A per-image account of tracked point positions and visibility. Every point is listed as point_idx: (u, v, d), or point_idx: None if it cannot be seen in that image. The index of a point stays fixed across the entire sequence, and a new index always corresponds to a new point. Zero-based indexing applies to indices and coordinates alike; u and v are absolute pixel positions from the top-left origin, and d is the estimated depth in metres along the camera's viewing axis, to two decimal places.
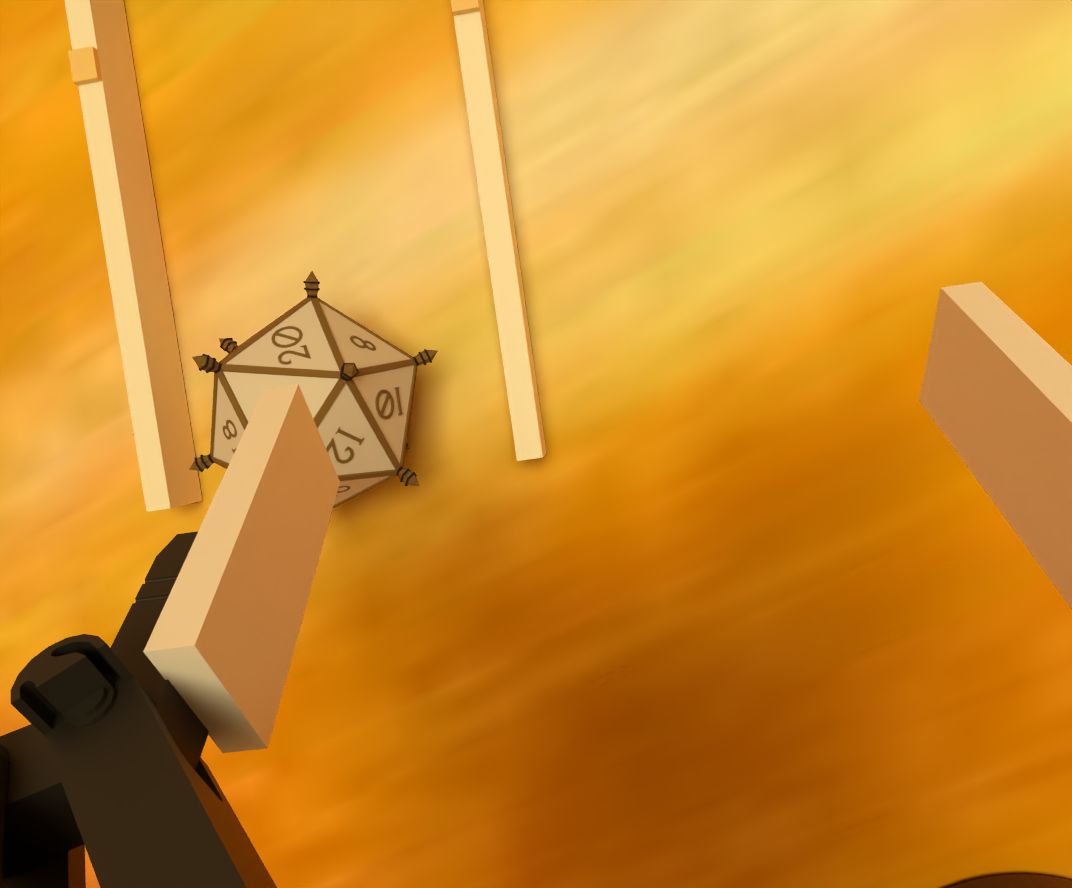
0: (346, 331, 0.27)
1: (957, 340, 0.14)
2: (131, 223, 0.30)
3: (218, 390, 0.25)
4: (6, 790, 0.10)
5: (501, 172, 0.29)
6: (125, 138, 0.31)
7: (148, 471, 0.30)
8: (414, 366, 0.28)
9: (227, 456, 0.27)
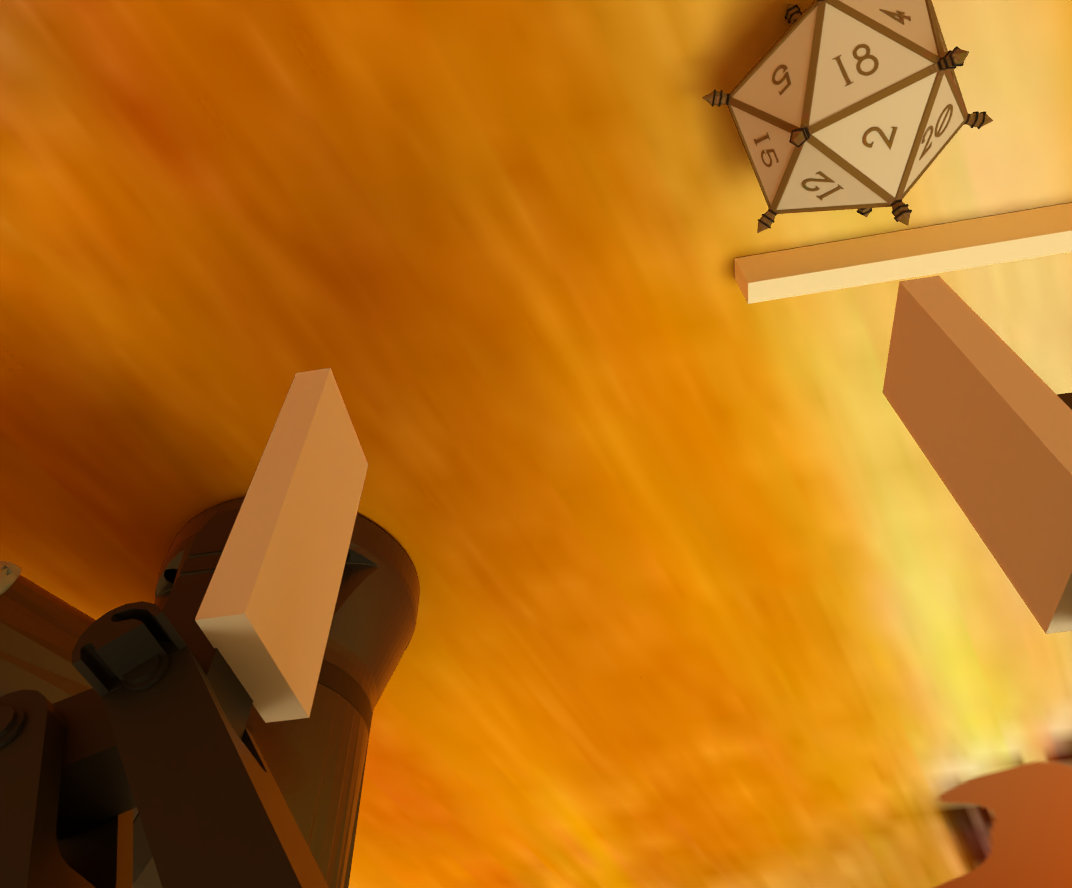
0: None
1: (914, 332, 0.15)
2: None
3: (914, 55, 0.23)
4: (62, 756, 0.10)
5: (1005, 261, 0.32)
6: None
7: None
8: None
9: (829, 38, 0.24)
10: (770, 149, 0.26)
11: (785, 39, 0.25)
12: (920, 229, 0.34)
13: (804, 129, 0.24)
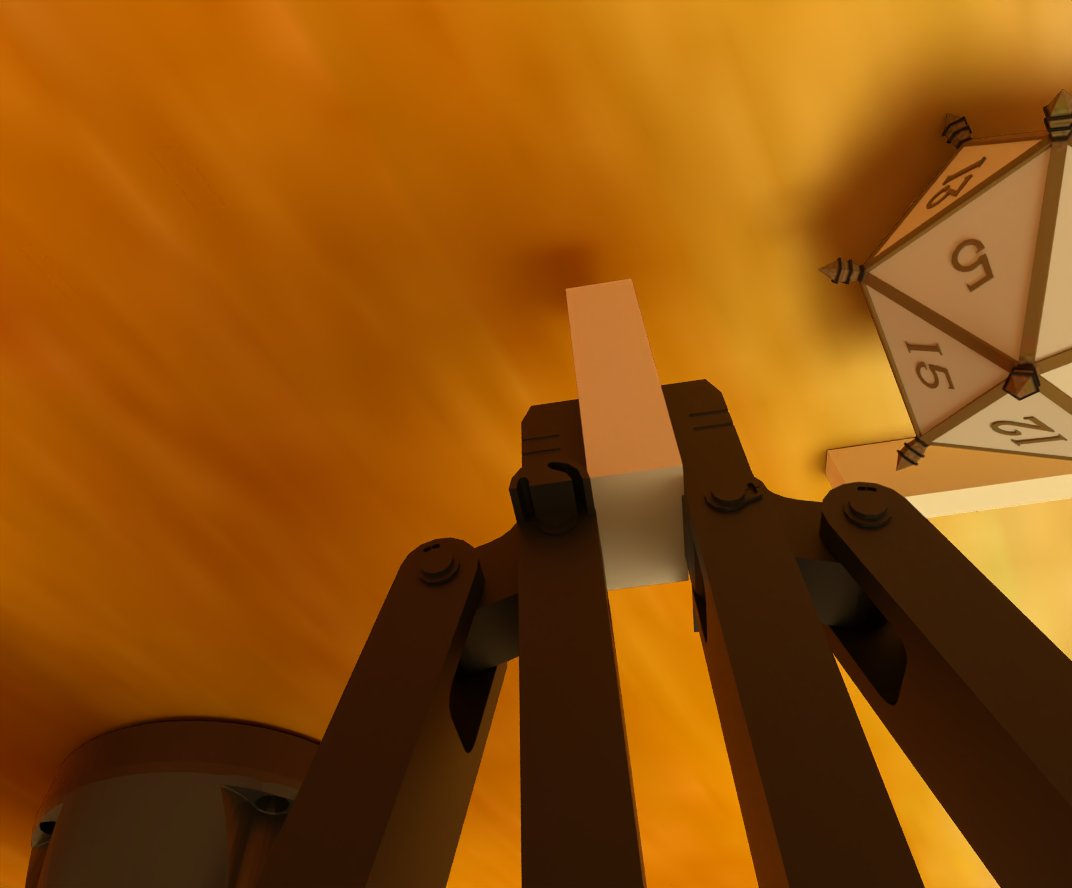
0: None
1: None
2: None
3: None
4: (474, 615, 0.11)
5: None
6: None
7: None
8: None
9: None
10: (938, 366, 0.16)
11: (977, 195, 0.15)
12: None
13: (1033, 372, 0.13)
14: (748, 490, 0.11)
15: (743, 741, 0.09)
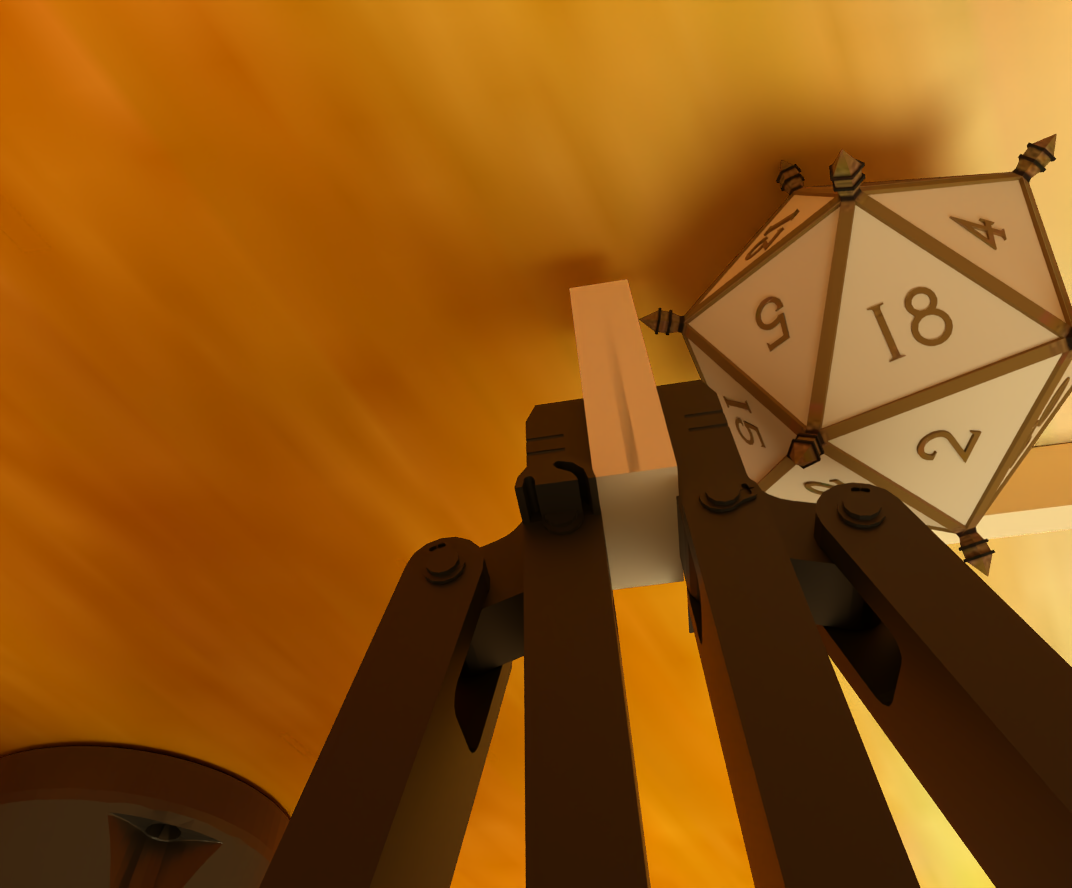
0: None
1: None
2: None
3: (1021, 318, 0.12)
4: (479, 615, 0.11)
5: None
6: None
7: None
8: None
9: (862, 271, 0.13)
10: (750, 424, 0.15)
11: (779, 251, 0.14)
12: None
13: (815, 440, 0.13)
14: (742, 491, 0.11)
15: (738, 742, 0.09)
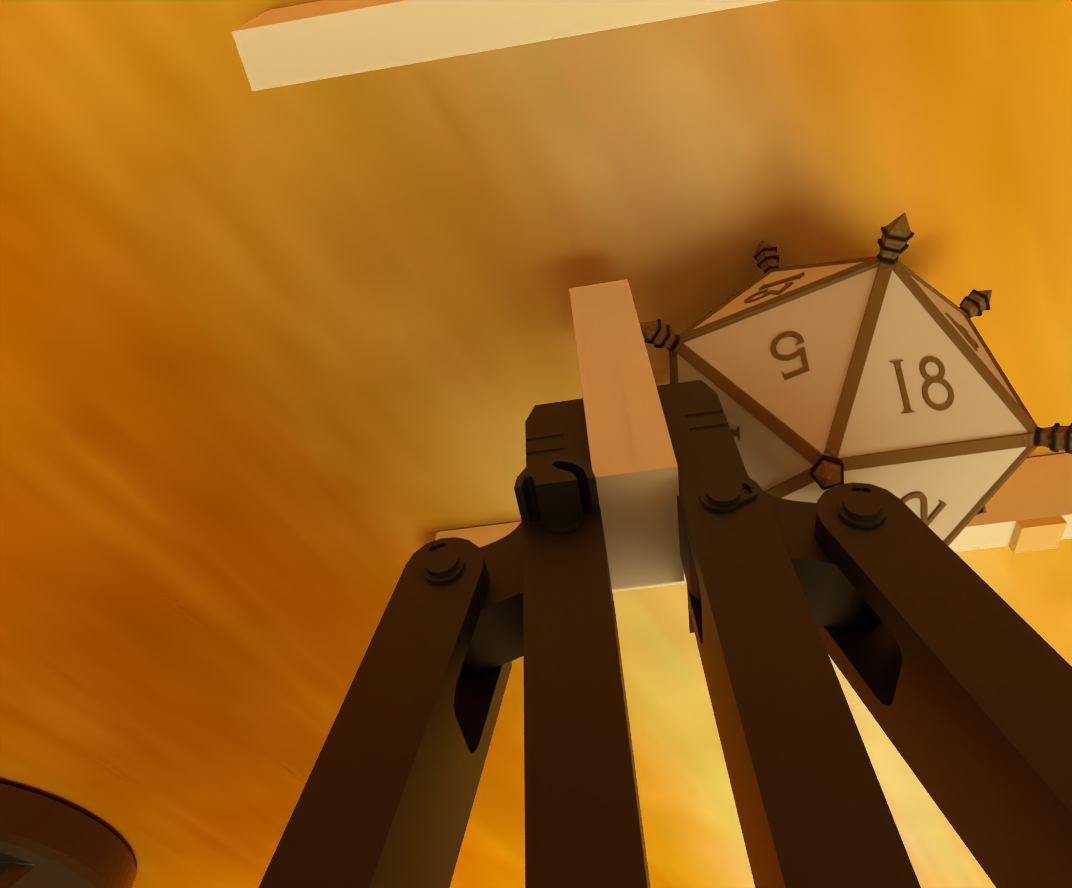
0: None
1: None
2: None
3: (1003, 407, 0.14)
4: (478, 615, 0.11)
5: None
6: None
7: (322, 37, 0.14)
8: None
9: (889, 327, 0.14)
10: None
11: (802, 294, 0.15)
12: None
13: None
14: (743, 491, 0.11)
15: (739, 742, 0.09)
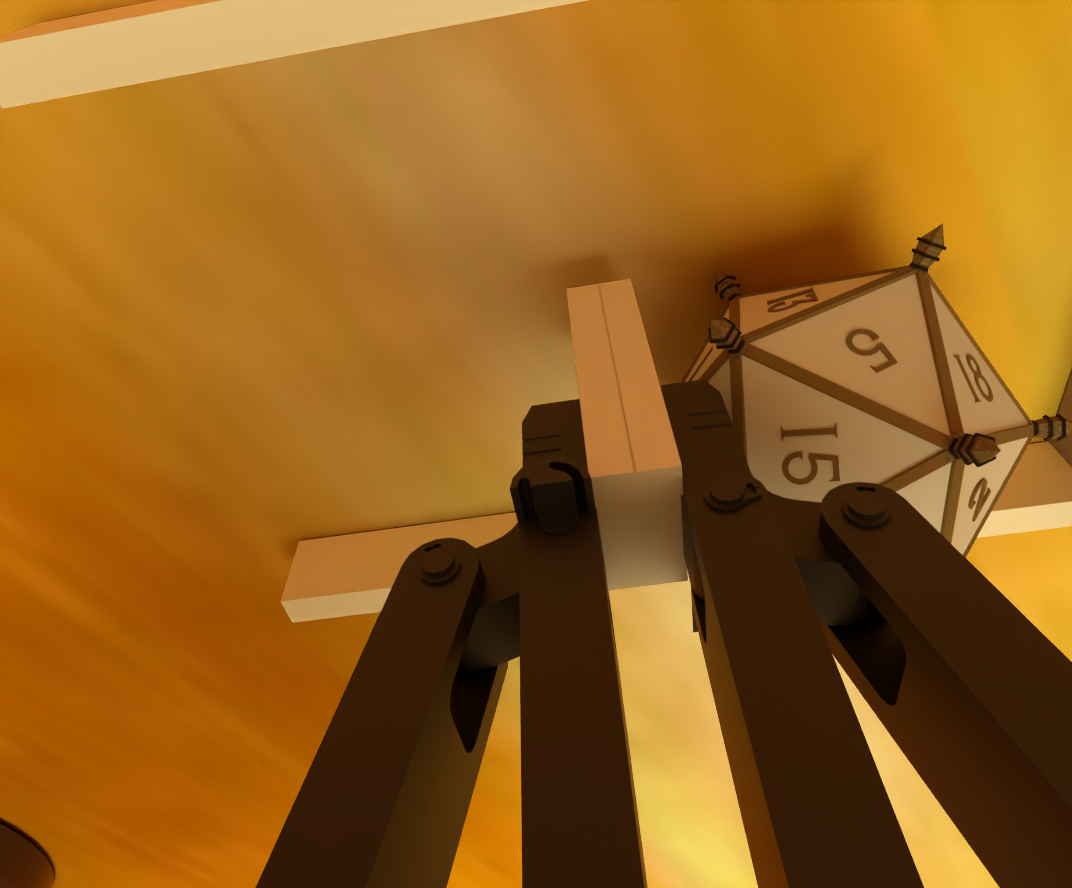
0: None
1: None
2: None
3: (1012, 402, 0.16)
4: (475, 615, 0.11)
5: None
6: None
7: (63, 54, 0.13)
8: None
9: (942, 326, 0.15)
10: (823, 454, 0.14)
11: (851, 297, 0.15)
12: None
13: None
14: (747, 490, 0.11)
15: (742, 741, 0.09)
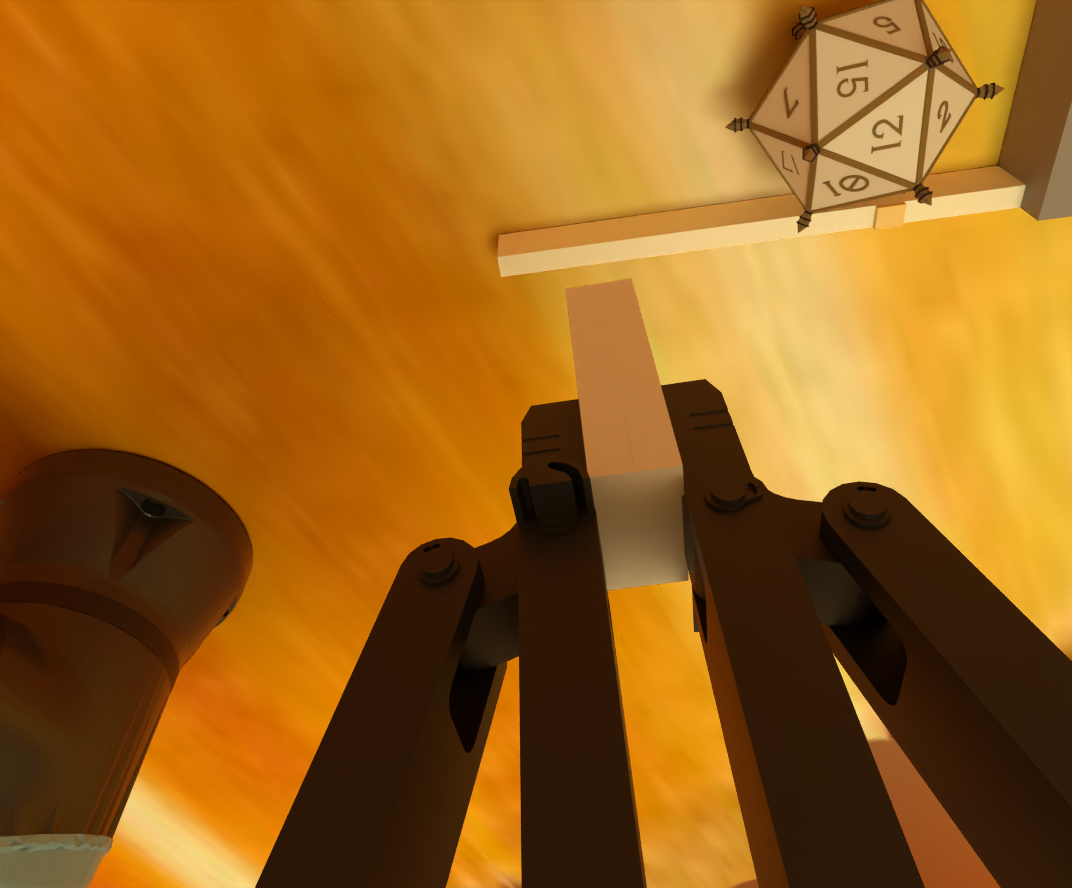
0: None
1: None
2: None
3: (965, 73, 0.28)
4: (474, 615, 0.11)
5: (737, 244, 0.34)
6: None
7: None
8: (810, 209, 0.31)
9: (926, 19, 0.27)
10: (859, 78, 0.26)
11: (876, 5, 0.27)
12: (669, 212, 0.36)
13: None
14: (748, 490, 0.11)
15: (743, 741, 0.09)
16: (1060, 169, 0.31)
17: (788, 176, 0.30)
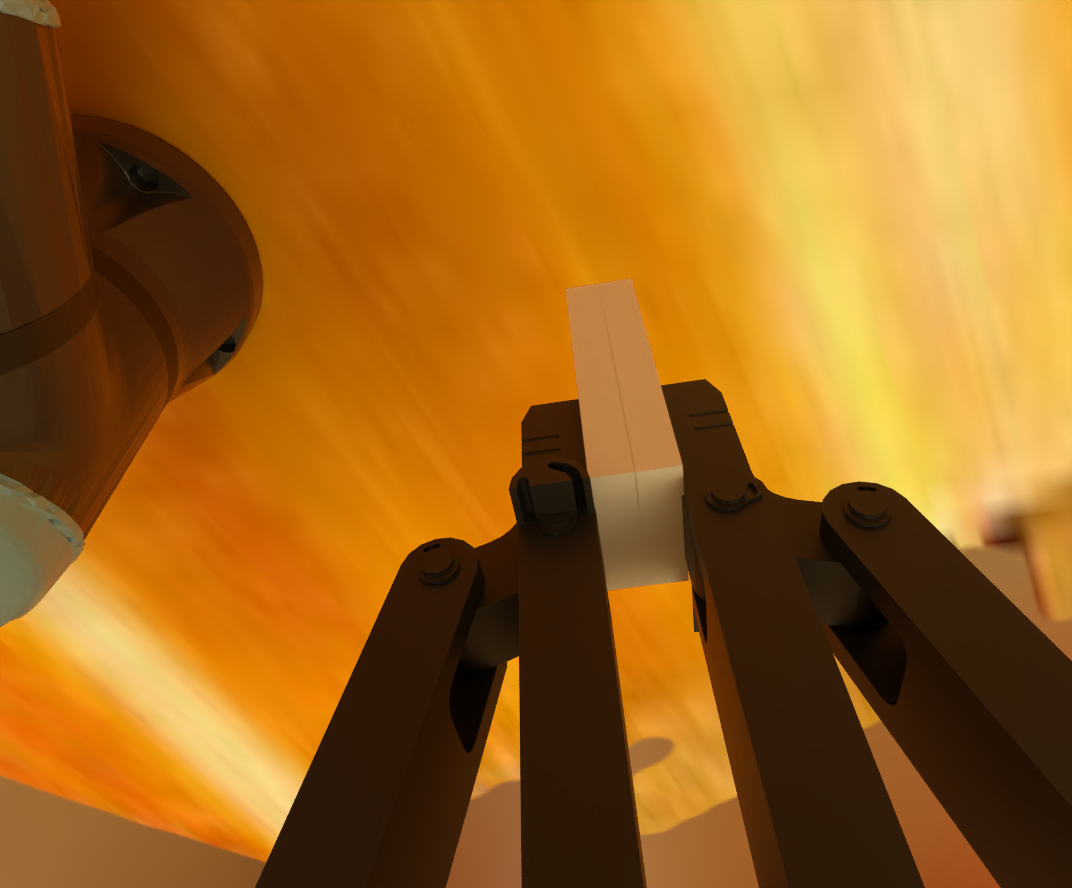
0: None
1: None
2: None
3: None
4: (474, 615, 0.11)
5: None
6: None
7: None
8: None
9: None
10: None
11: None
12: None
13: None
14: (748, 490, 0.11)
15: (743, 741, 0.09)
16: None
17: None
